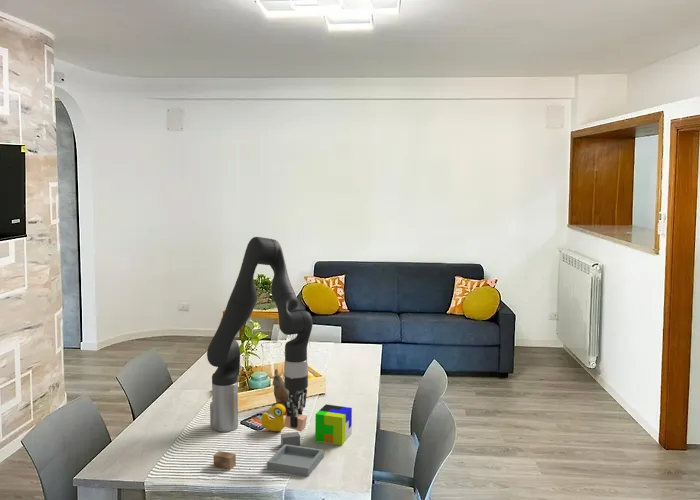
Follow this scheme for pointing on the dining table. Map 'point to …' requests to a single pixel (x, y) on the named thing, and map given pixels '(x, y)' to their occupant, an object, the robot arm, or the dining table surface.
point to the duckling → (278, 420)
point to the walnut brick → (224, 460)
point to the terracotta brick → (300, 421)
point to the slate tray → (295, 460)
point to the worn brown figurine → (279, 390)
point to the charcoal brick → (290, 439)
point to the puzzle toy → (333, 424)
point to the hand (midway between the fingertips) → (296, 424)
